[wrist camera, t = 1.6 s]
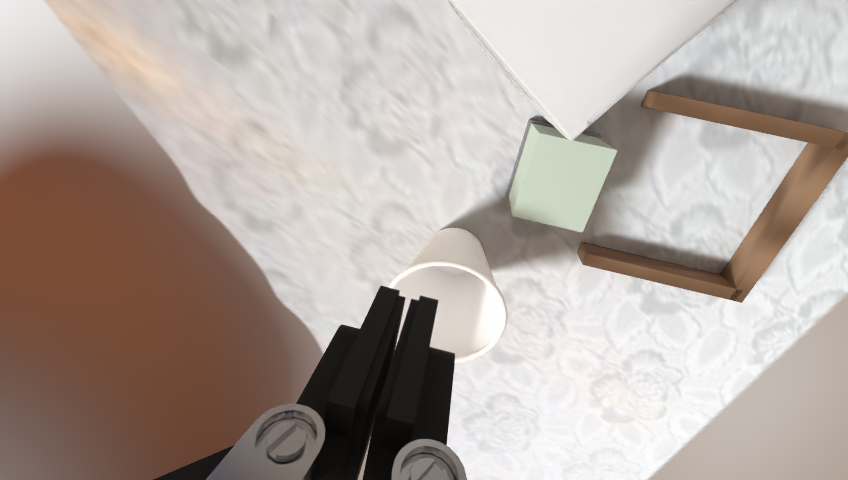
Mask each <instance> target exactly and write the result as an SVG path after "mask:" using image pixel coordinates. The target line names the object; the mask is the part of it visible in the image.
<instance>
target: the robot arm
mask: <svg viewBox="0 0 848 480" xmlns="http://www.w3.org/2000/svg"><path fill="white" fill-rule="evenodd" d="M399 293H400V290H396V289H392V288H388V287H384V286H380V288H379V290H378V292H377V295H376V297H375V299H374V301H373V303H372V305H371V307H370V309H369V312H368V314H367V316H366V318H365V320H364V322H363V324H362V326H361V328H360V329H358V328H354V327H350V326H346V325H341V326H340V327H339V328H338V330H337V331H336V333H335V335H334V337H333V339H332V340H331V342H330V344H329V346H328V348H327V349H326V351H325V353H324V355H323V357H322V358H321V360H320V362H319V364H318V366H317V367H316V369H315V371H314V373H313V374H312V376H311V378H310V380H309V382H308V384H307V385H306V387H305V389H304V391H303V393H302V394H301V396H300V398H299V400H298V401H297V403H296V404H285V405H282V406H278V407H275V408H273V409H271V410H269V411H267V412H265V413H264V414H263V415H262V416H261V417H259V418H258V419H257V420H256V421H255V422H254V423H253V424H252V426H251V427H250V428H249V429H248V430H247V432H246V433H245V434H244V435H243V436H242V437H241V439H240V440H239V441H238V442H237V443H236V445H234V446H232V447H229V448H227V449H224V450H222V451H220V452H218V453H215V454H213V455H210V456H208V457H206V458H203V459H201V460H199V461H196V462H194V463H191V464H189V465H187V466H184V467H182V468H180V469H177V470H175V471H173V472H170V473H168V474H166V475H163V476H161V477H159V478H156V479H154V480H358V476H359V473H360V470H361V466H362V463H363V460H364V457H365V453H366V450H367V447H368V444H369V440H370V445H369V450H368V455H367V460H366V465H365V470H364V475H363V480H467V478H466V474H465V470H464V466H463V464H462V463H461V461H460V459H459V457H458V456H457V455H456V454H455V453H454V452H453V451H452V450H451V449H450V448H449V447H448V446H446V444H447V434H448V424H449V414H450V404H451V393H452V383H453V373H454V363H455V353H452V352H448V351H444V350H440V349H436V348H432V347H430V342H431V337H432V332H433V326H434V321H435V316H436V311H437V306H438V300H437V299H433V298H429V297H425V296H421V295H420V297H419V300H415V299H411V301H410V305H409V308H408V311H407V314H406V317H405V321H404V324H403V327H402V330H401V333H400V337H399V340H398V343H397V338H398V333H399V328H400V323H401V318H402V314H403V309H404V304H405V299H406V297H403V296H399ZM396 343H397V346H396ZM395 348H396V349H395ZM394 352H395V353H394ZM370 437H371V439H370Z"/></svg>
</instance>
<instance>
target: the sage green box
mask: <svg viewBox="0 0 848 480" xmlns="http://www.w3.org/2000/svg"><path fill="white" fill-rule="evenodd" d="M600 138H601V135H599V134H595V133H590V132H585V131H583V132H582V133H581V134H580V135H579V136H578V137H577V138H575V139H574V140H572V141H570V140H569V139H567V138H566V137H565V136H563V135H562V134H561V133H560V132H559V131H558V130H557V129H556V128H555V127H554V126H553V125H552V124H548V123H544V122H539V121H535V120H530V119H529V121H528V124H527V127H526V130H525V134H524V137H523V140H522V144H521V147H520V150H519V153H518V157H517V160H516V163H515V167H514V170H513V173H512V176H511V180H510V183H509V186H508V189H507V193H506V198H509V200H510V206H511V212H512V216H513V217H517V218H521V219H526V220H530V221H534V222H539V223H543V224H547V225H552V226H556V227H560V228H565V229H569V230H573V231H578V232H582V233H583V230H584V228H585V226H586V223H587V221H588V219H589V216H590V214H591V212H592V209H593V207H594V205H595V202H596V200H597V198H598V195H599V193H600V191H601V188H602V186H603V184H604V181H605V179H606V177H607V174H608V172H609V170H610V167H611V165H612V163H613V160H614V158H615V156H616V153H617V151H618V150H617V149H615V148H614V147H612V146H610V145H609V144H607V143H606V142H604V141H603V140H601V139H600Z"/></svg>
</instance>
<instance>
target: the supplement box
mask: <svg viewBox="0 0 848 480" xmlns="http://www.w3.org/2000/svg"><path fill="white" fill-rule="evenodd" d="M446 1H447V2H448V3H449V5H450V6H451V8H452V9H453V11H454V12H455V13H456V15H457V16H458V18H459V19H460V21H461V22H462V24H463V26H464V27H465V29H466V30H467V32H468V33H469V34H470V35H471V37H472V38H473V39H474V40H475V41H476V43H477V44H478V45H479V46H480V47H481V49H482V50H483V51H484V52H485V53H486V55H487V56H488V57H489V58H490V59H491V60H492V61H493V63H494V64H495V65H496V66H497V67H498V68H499V69H500V71H501V72H502V73H503V74H504V75H505V76H506V77H507V79H508V80H509V81H510V82H511V83H512V84H513V85H514V86H515V88H516V89H517V90H518V91H519V92H520V93H521V94H522V95H523V96H524V97H525V98H526V100H527V101H528V102H529V103H530V104H531V105H532V106H533V107H535V108H536V109H537V110H538V111H539V112H540V113H541V114H542V115H543V117H544V118H545V119H546V120H547V121H548V122H550V123H551V124H552V125H553V126H554V127H555V128H556V129H557V130H558V131H559V132H560V133H561V134H562V135H563V136H565V137H566V138H567V139H569V140H570V141H572V140H574V139H575V138H577V137H578V136H579V135H580V134H581V133H582V132H583V131H584V130H585V129H587V128H588V127H589V126H590V125H591V124H592V123H593V122H594V121H596V120H597V119H598V118H599V117H600V116H601V115H602V114H604V113H605V112H606V111H607V110H608V109H609V108H610V107H612V106H613V105H614V104H615V103H616V102H617V101H619V100H620V99H621V98H622V97H623V96H624V95H626V94H627V93H628V92H629V91H630V90H631V89H633V88H634V87H635V86H636V85H637V84H638V83H639V82H641V81H642V80H643V79H644V78H645V77H646V76H648V75H649V74H650V73H651V72H652V71H654V70H655V69H656V68H657V67H658V66H660V65H661V64H662V63H663V62H664V61H665V60H667V59H668V58H669V57H670V56H671V55H673V54H674V53H675V52H676V51H677V50H679V49H680V48H681V47H682V46H684V45H685V44H686V43H687V42H689V41H690V40H691V39H692V38H693V37H695V36H696V35H697V34H698V33H700V32H701V31H702V30H703V29H705V28H706V27H707V26H708V25H709V24H711V23H712V22H713V21H714V20H716V19H717V18H718V17H719V16H721V15H722V14H723V13H724V12H726V11H727V10H728V9H729V8H730V7H732V6H733V5H734V4H735V3H737V2H738V1H739V0H446Z"/></svg>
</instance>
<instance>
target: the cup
mask: <svg viewBox="0 0 848 480" xmlns="http://www.w3.org/2000/svg"><path fill="white" fill-rule="evenodd" d="M389 288H392V289H396V290H400V293H399V296H403V297H406V299H405V304H404V309H403V314H402V318H401V323H400V328H399V333H398V338H397V341H398V340H399V337H400V333H401V330H402V327H403V324H404V321H405V317H406V314H407V311H408V308H409V305H410V301H411V299H415V300H419V297H420V295H421V296H425V297H429V298H433V299H437V300H438V306H437V311H436V316H435V321H434V326H433V332H432V337H431V342H430V347H432V348H436V349H440V350H444V351H448V352H452V353H455V363H459V362H465V361H469V360H472V359H475V358H478V357H480V356H482V355H484V354H485V353H487V352H488V351H490V350H491V349H492V348H493V347H494V346H495V345H496V344H497V343H498V341H499V340H500V339H501V338H502V335H503V333H504V331H505V329H506V324H507V318H508V317H507V306H506V303H505V300H504V297H503V295H502V294H501V292H500V290H499V289H498V287H497V286H496V283H495V281H494V278H493V275H492V273H491V270H490V267H489V265H488V262H487V259H486V257H485V254H484V251H483V248H482V245H481V244H480V242H479V240H478V239H477V238H476V237H475V236H474V235H473V234H471V233H470V232H468V231H466V230H463V229H460V228H446V229H443V230H440V231H438V232H436V233H435V234H434V235H432V236H431V238H430V239H429V240H428V241H427V243H426V244H425V245H424V246H423V248H422V249H421V250H420V251H419V253H418V254H417V255H416V257H415V258H414V259H413V260H412V262H411V263H410V264H409V265H408V266H407V268H406V269H405V270H404V271H403V272H401V273H400V274H399V275H397V277H396V278H395V279H394V280H393V281H392V282H391V284H390V286H389Z"/></svg>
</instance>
